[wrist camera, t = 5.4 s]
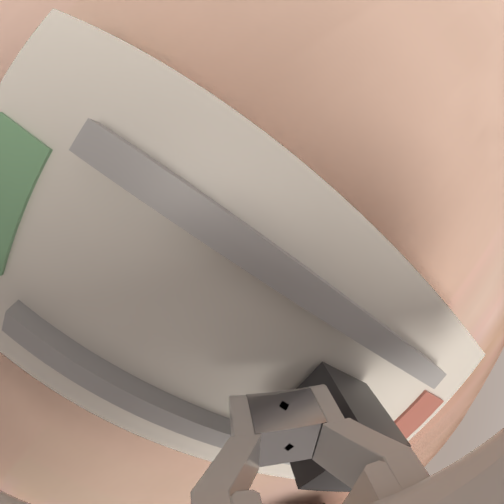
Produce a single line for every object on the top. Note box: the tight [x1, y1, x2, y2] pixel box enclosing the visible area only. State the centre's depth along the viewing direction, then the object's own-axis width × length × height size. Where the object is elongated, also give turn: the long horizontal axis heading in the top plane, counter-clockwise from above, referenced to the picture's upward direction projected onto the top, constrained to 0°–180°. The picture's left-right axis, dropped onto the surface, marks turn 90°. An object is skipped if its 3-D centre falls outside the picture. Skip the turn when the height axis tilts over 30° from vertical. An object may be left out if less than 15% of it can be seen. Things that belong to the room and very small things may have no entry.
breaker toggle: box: [290, 362, 411, 492], centre depth 9 cm, size 3×3×4 cm
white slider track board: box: [0, 8, 485, 479], centre depth 12 cm, size 13×28×6 cm, turn 53°
